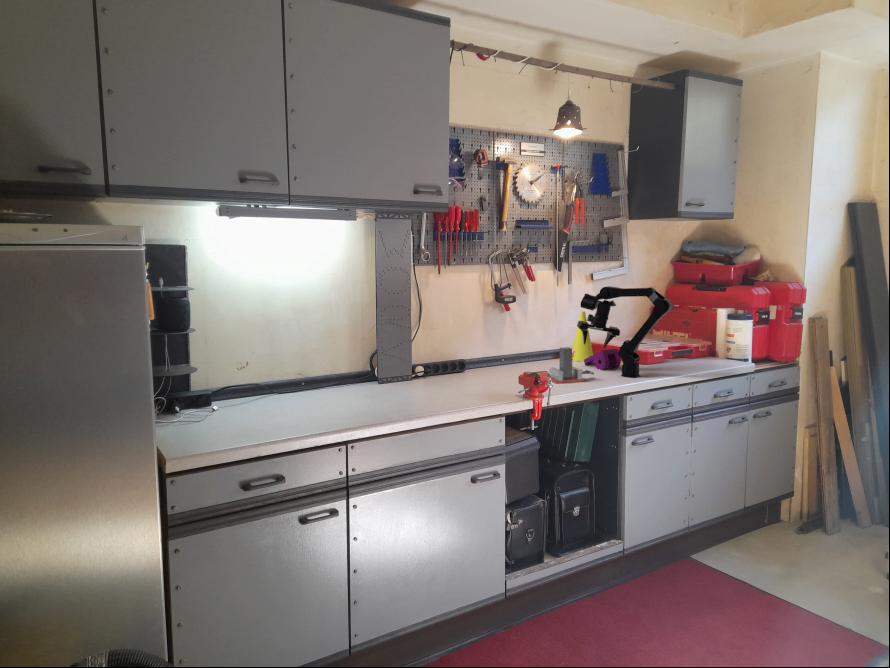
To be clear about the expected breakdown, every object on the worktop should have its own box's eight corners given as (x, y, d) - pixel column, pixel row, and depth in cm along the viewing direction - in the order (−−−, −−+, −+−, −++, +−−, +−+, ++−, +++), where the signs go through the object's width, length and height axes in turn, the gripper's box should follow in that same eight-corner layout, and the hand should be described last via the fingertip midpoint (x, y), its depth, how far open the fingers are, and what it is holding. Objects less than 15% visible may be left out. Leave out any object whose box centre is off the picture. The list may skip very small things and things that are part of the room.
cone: (565, 359, 307) (565, 311, 304) (579, 356, 315) (580, 310, 312) (584, 362, 298) (585, 313, 295) (598, 359, 306) (600, 311, 303)
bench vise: (585, 376, 261) (585, 365, 261) (595, 380, 253) (595, 369, 252) (547, 379, 257) (547, 367, 256) (556, 383, 248) (556, 371, 247)
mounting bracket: (584, 377, 289) (606, 367, 273) (579, 361, 291) (602, 350, 276) (599, 376, 293) (622, 365, 277) (595, 359, 295) (617, 348, 280)
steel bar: (567, 376, 256) (568, 347, 254) (571, 378, 252) (572, 348, 251) (559, 377, 255) (559, 347, 253) (563, 379, 251) (563, 349, 250)
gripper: (618, 313, 274) (609, 345, 278) (579, 306, 274) (571, 337, 278) (624, 318, 263) (615, 351, 267) (583, 311, 263) (575, 344, 267)
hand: (594, 345), depth 270 cm, fingers open, 9 cm apart
